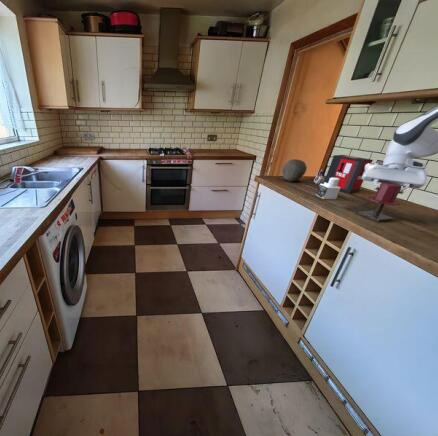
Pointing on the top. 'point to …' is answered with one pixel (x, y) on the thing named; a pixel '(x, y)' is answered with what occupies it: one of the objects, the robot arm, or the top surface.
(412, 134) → the robot arm
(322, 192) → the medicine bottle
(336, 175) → the cleaning product box
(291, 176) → the grey stone ball
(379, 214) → the hat stand
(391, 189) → the hat
